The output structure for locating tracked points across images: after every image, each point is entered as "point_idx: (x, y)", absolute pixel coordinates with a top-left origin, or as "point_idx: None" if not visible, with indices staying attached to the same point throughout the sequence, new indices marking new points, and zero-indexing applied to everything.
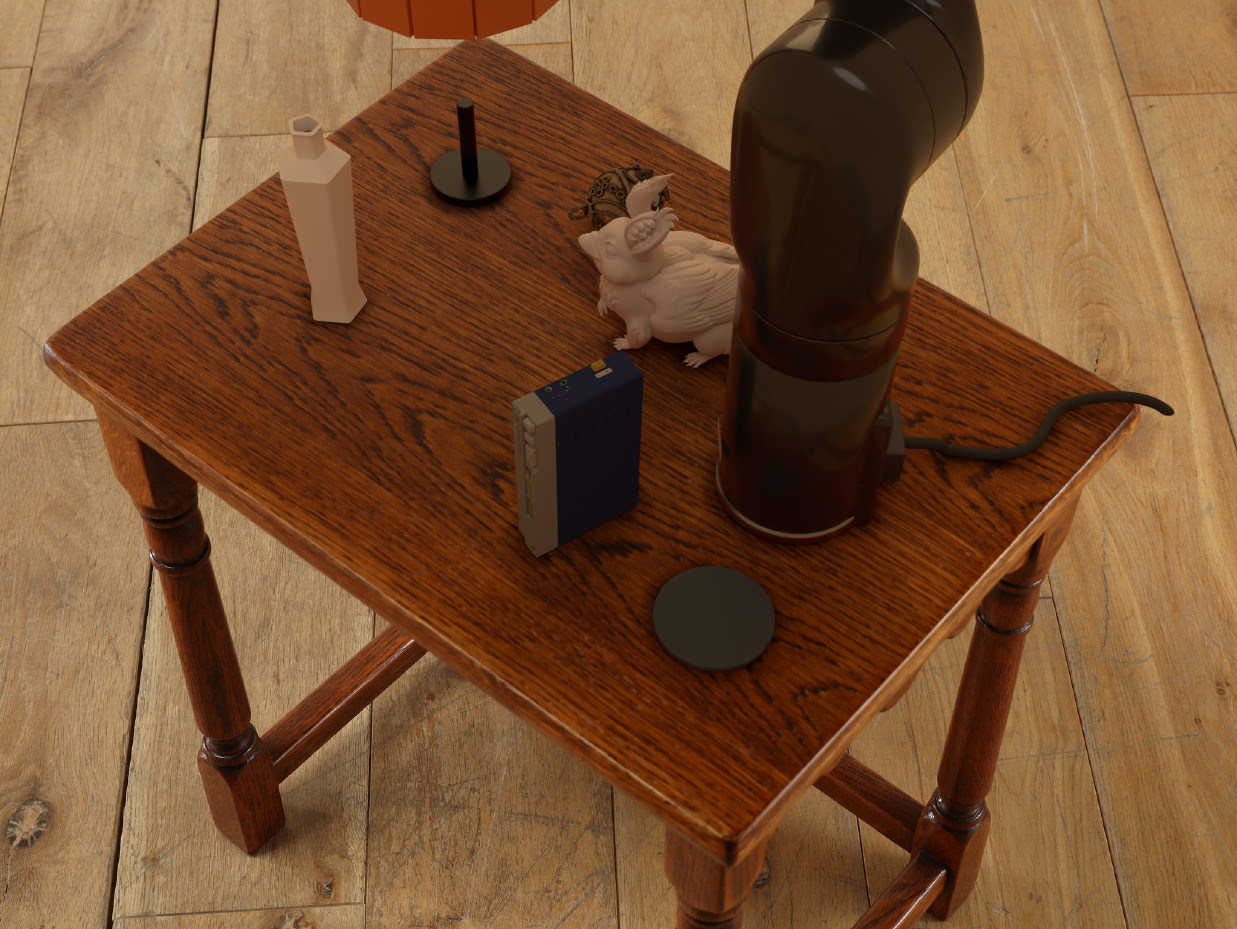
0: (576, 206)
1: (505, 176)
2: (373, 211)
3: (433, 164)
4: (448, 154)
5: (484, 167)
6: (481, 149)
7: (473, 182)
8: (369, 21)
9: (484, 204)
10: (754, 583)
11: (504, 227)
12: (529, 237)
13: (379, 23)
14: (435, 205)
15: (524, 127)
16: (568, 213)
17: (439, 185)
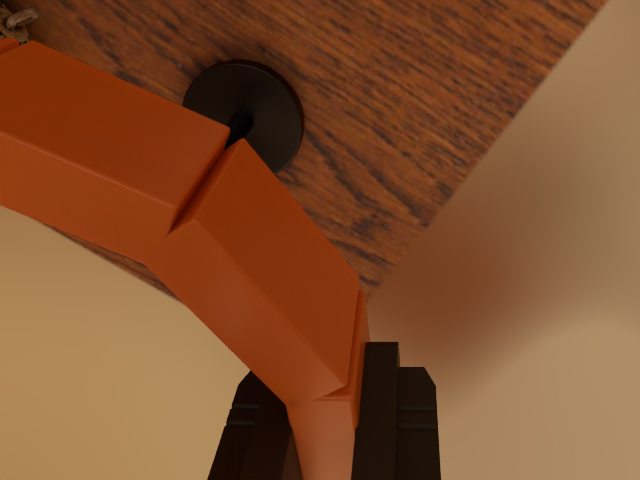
0: (13, 15)
1: None
2: (375, 32)
3: (299, 137)
4: (283, 161)
5: None
6: None
7: (229, 103)
8: (198, 115)
9: (209, 67)
10: None
11: (167, 21)
12: (124, 3)
13: (152, 97)
14: (282, 59)
15: None
16: (32, 9)
17: (278, 91)
